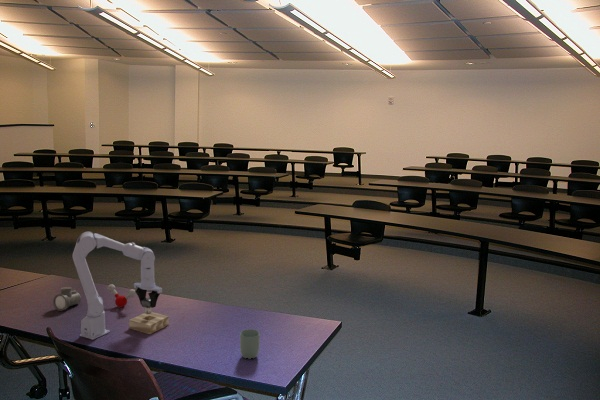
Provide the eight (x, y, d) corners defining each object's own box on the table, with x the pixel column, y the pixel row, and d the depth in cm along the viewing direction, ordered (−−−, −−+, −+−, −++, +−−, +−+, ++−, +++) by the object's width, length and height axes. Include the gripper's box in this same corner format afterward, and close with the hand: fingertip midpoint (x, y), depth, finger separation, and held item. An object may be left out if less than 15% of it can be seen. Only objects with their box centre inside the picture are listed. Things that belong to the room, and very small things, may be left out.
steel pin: (148, 316, 231) (148, 302, 230) (139, 313, 234) (138, 300, 233) (157, 312, 236) (156, 299, 235) (147, 309, 238) (147, 297, 237)
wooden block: (150, 334, 229) (149, 325, 228) (129, 328, 234) (129, 319, 233) (168, 324, 239) (168, 316, 238) (148, 319, 244) (148, 311, 244)
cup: (259, 352, 215) (260, 329, 213) (258, 361, 207) (259, 337, 205) (240, 352, 215) (240, 328, 213) (238, 361, 207) (239, 337, 205)
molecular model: (138, 308, 257) (138, 288, 255) (130, 312, 252) (129, 292, 250) (112, 301, 265) (112, 282, 263) (103, 304, 260) (103, 285, 259)
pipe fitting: (65, 312, 249) (65, 290, 249) (52, 310, 252) (52, 289, 251) (84, 306, 260) (84, 285, 260) (71, 305, 263) (71, 284, 263)
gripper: (166, 276, 232) (167, 306, 235) (141, 271, 239) (142, 299, 241) (155, 280, 226) (156, 311, 228) (130, 275, 233) (130, 304, 235)
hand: (148, 305), depth 234 cm, fingers closed on steel pin, 5 cm apart
